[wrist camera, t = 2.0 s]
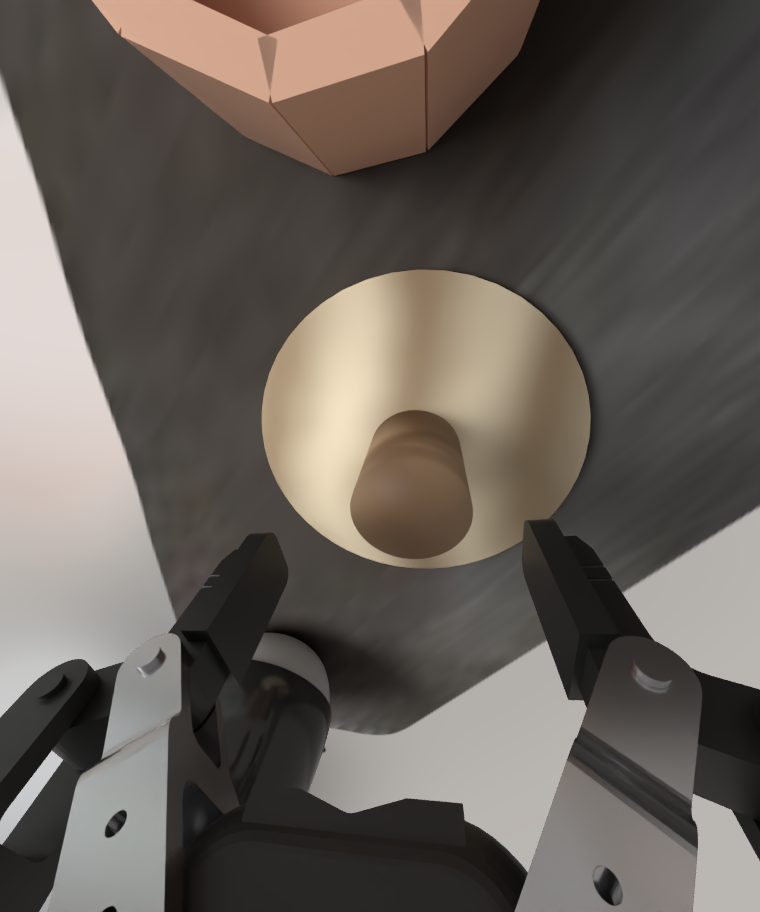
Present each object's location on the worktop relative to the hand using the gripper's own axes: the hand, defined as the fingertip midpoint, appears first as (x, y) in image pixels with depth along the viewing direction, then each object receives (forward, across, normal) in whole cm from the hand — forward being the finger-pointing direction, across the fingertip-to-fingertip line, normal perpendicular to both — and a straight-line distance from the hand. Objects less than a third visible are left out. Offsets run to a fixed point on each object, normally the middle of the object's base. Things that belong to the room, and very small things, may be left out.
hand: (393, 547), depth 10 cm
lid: (+8, -1, 0) cm, 8 cm away
